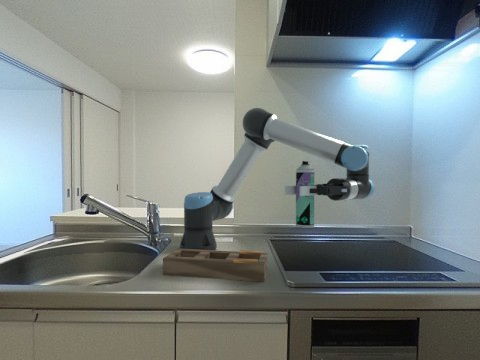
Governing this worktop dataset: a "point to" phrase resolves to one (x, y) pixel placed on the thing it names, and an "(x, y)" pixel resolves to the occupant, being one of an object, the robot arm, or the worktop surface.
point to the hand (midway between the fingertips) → (292, 190)
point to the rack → (217, 264)
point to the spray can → (304, 202)
